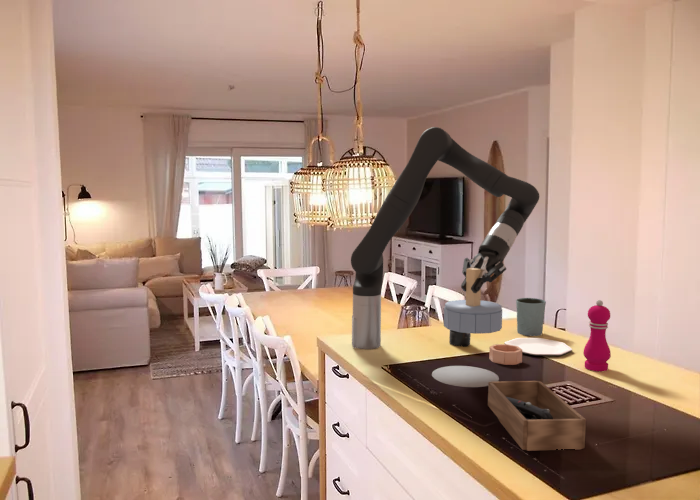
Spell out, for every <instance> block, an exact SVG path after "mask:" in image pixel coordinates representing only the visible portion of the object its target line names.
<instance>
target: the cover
mask: <svg viewBox="0 0 700 500" xmlns="http://www.w3.org/2000/svg"><path fill="white" fill-rule="evenodd" d="M480 272H481V269H478V268H469V269H466V277H465V278H466V291H465V299H457V300H455V299H454V300H450V301H446V302H445V303H444V307H443V326H444V328H446V329H447V330H448V331H450V330H453V331H457V332H462V333H471V334H492V333H496V332H501V330H502V328H503V309H502V308H503V306H502V305H501V304H500V303H498V302H493V301H488V300H481V299H482V298H481V294H482V287H481V288H480V290H479V291H478V292H477V293H473V291H472V290H471V287H472V285H473V284H474V282H475V281H476V279H477V278H479V274H480Z"/></svg>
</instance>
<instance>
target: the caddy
mask: <svg viewBox="0 0 700 500" xmlns="http://www.w3.org/2000/svg"><path fill="white" fill-rule="evenodd" d="M487 387H488V389H487V392H488V393H487V407H489V409H490V410H491V411H492V412H493V414H494V415H495V416H496V418H497V420H498V421H499V423H500V424H501V425H502V426H503V428H505V430H506V431H507V433H508V434H509V436H510V437H512V439H513V440H514V441H515V442H516V444H517V445H518V446H519V447H520V449H521V450H523V451H529V452H530V451H531V452H532V451H565V450H564V449H575V450H582V449H585V446H586V445H585V444H586V442H585V441H586V426H587V425H586V423H587V419H586V418H585V417H584V416H583V415H581V414H580V412H578V411H577V410H575V408H573V407H572V406H571V405H570V404H568V403H567V402H566V401H565V400H564V399H562V398H561V397H560V396H558V394H557V393H556V392H554V391H553V390H552V389H551V388H550V387H548V386H547V385H546V384H545V383H543V382H542V381H540V380H505V381H504V380H503V381H491V382H489V383H488V386H487ZM506 397H510V398H514V399H517V400H521V401H524V402H526V403H527V402H530V403H531V404H532V405H534V406H536V407H538V408H541V409H549V411H550V414H551V415H552V417H553V419H536V420H527V419H526V418H525V417H524V416H523V415H522V414H521V413H520V412H519V411H520V410H519V411H518V410H517V409H516V407H515V406H514V405H513V404H512V403H511V402H510V401H509V400H508V399H507V398H506ZM556 449H558V450H556ZM561 449H563V450H561Z"/></svg>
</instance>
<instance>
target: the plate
mask: <svg viewBox="0 0 700 500" xmlns="http://www.w3.org/2000/svg"><path fill="white" fill-rule="evenodd" d="M504 344H508V345H513V346H518V347H520V348H521V349H522V354H526V355H531V356H539V357H540V356H542V357H543V356H546V357H547V356H549V357H550V356H553V357H554V356H556V357H559V356H563V355H565V354H568V353H571V352H573V348H571V346H569V345H567V344H566V343H565V342H562V341H558V340H553V339H547V338H543V337H516V338H513V339H510V340H506V341H504Z"/></svg>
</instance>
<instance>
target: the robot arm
mask: <svg viewBox="0 0 700 500" xmlns="http://www.w3.org/2000/svg"><path fill="white" fill-rule="evenodd" d="M438 161H439V162H441V163H444V164H446V165H448V166H451V168H453V169H456V170H457V171H459V172H460V173H461V174H463V175H464V176H466V177H467V178H468V179H469V180H470V181H472V182H473V183H475V184H476V185H478V186H479V188H482V189H483V190H484V191H486V192H488V193H489V194H490V195H492V196H494V197H495V198H496V197H497V198H501V197H503V196H506V197H507V196H508V197H510V198H511V199H510V201H509V202H508V204H507V207H506V208H505V209H504V211H503V212H502V213H501V214H500V216H499V217H498V218H497V220H496V222H495V223H494V224H493V226H492V227H491V228H490V230H489V231H488V233H487V234H486V236H485V237H484V239H483V240H482V242H481V244H480V245H479V247H478V252H477V254H476V255H475V256H473V258H470V259H469V258H468V257H464V259H463V264H462V265H463V266H462V272H461V273H462V275H463V276H464V280H463V281H462V283H461V285H460V287H461V289H462V290H463V292H466V269H469V268H478V269H481V272H480V274H479V278H477V279H476V281H475V282H474V284H473V285H472V287H471V290H472V291H473V293H477V292H478V291H479V290H480V288H481V289H482V287H483V286H484V284H486V283H487V282H489V283H492V282H493V281H495V280H496V279H497V278H498V277H500V276H502V274H503V273H504V272H505V271H506V270H507V267H506V265H505V264H504V262H503V261H504V260H505V259H506V257H507V255H508V254H509V252H510V250H511V249H512V247H513V245H514V243H515V241H516V238H517V237H518V236H519V234H520V232H521V231H522V228H523V227H524V224H525V223H526V221H527V220H528V219H529V217H530V215H531V214H532V213H533V210H534V209H535V207H536V206H537V204H538V203H539V200H540V192H539V190H538V189H537V188H536V186H534V185H532V184H531V183H529V182H527V181H524V180H521V179H519V178H515V177H512V176H509V175H507V174H506V173H504V172H502V171H501V170H499V168H497V167H495V166H493V165H492V164H490V163H488V162H486V161H484V160H483V159H481V158H479V157H477V156H475V155H474V154H472V153H470V152H469V151H468V150H466V149H465V148H463V147H462V146H461V144H459V143H458V142H457V141H455V140H454V139H453V138H452V136H451V135H450V134H449V133H448V132H447V131H446V130H445V129H443V128H441V127H438V126H432V127H428V128H427V129H426V130H424V131H423V132H422V133H421V135H420V137H419V139H418V140H417V143H416V145H415V147H414V149H413V152H412V154H411V156H410V158H409V159H408V162H407V164H406V165H405V167H404V168H403V170H402V171H401V173H400V175H399V176H398V178H397V179H396V181H395V182H394V184H393V185H392V187H391V189H390V190H389V192H388V194H387V195H386V197H385V199H384V200H383V203H382V204H381V206H380V208H379V210H378V211H377V214H376V215H375V218H374V220H373V222H372V224H371V226H370V227H369V230H368V231H367V233H366V234H365V235H364V237H363V238H362V239H361V241H360V242H359V243H358V245H357V246H356V248H355V249H354V250H353V251H352V253H351V256H350V264H351V268H352V270H353V271H354V272H355V278H354V282H353V285H352V316H351V344H352V348H353V349H360V350H373V349H378V348H381V346H382V345H381V341H382V339H381V337H382V336H381V335H382V334H381V333H382V332H381V331H382V330H381V329H382V328H381V327H382V289H383V288H382V287H383V281H384V256H383V254H384V251H385V250H386V248H387V246H388V244H389V242H391V240H392V239H393V237H394V236H395V235H396V233H397V232H398V231H399V230H400V229H401V228H402V227H403V225H404V224H405V223H406V222H407V220H408V219H409V217H410V216H411V214H412V212H413V211H414V209H415V207H416V206H417V204H418V202H419V200H420V197H421V195H422V192H423V189H424V186H425V182H426V180H427V177H428V175H429V174H430V172H431V171H432V170H433V168H434V167H435V165H436V163H437V162H438Z"/></svg>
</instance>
